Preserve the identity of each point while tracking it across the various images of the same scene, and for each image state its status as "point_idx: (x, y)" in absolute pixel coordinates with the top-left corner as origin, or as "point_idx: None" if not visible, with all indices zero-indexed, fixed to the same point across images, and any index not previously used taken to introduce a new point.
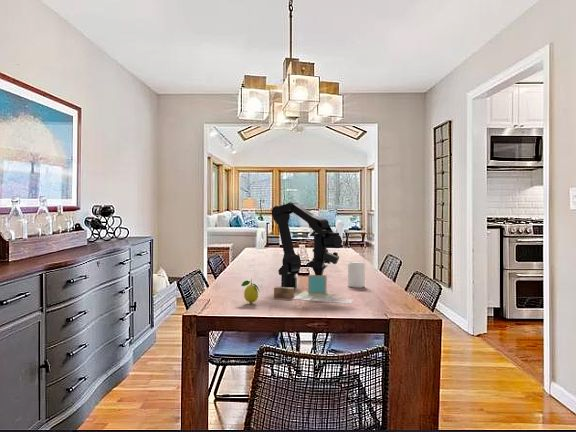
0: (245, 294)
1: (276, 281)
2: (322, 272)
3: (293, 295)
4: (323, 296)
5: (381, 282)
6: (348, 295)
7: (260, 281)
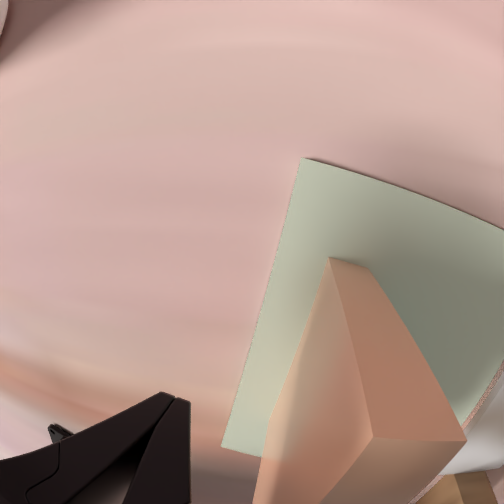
0: None
1: (3, 440)
2: (81, 494)
3: (469, 481)
4: (491, 295)
5: None
6: (352, 8)
7: None
